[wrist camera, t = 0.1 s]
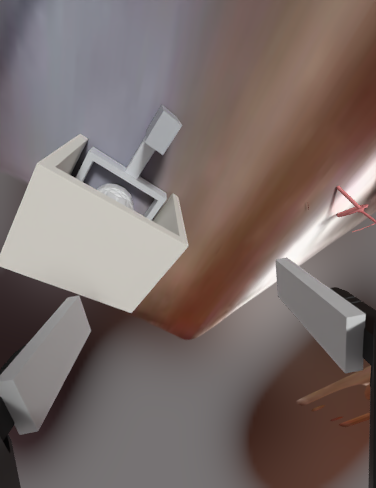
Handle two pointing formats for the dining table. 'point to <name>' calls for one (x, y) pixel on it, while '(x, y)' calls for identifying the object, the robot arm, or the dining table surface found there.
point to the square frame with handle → (140, 158)
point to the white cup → (117, 194)
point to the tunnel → (90, 236)
